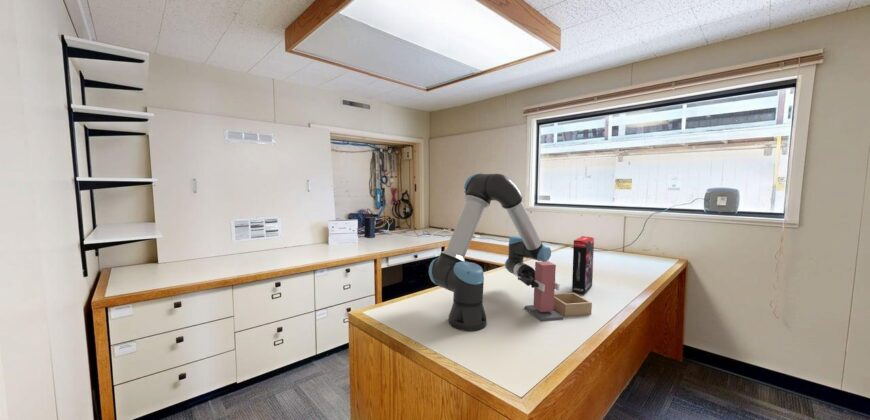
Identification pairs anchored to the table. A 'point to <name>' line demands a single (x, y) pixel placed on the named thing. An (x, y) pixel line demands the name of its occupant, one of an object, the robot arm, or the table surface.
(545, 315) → the rubber mat
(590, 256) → the graphics card box
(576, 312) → the hollow rectangular frame
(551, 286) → the pink rectangular block
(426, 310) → the table surface
